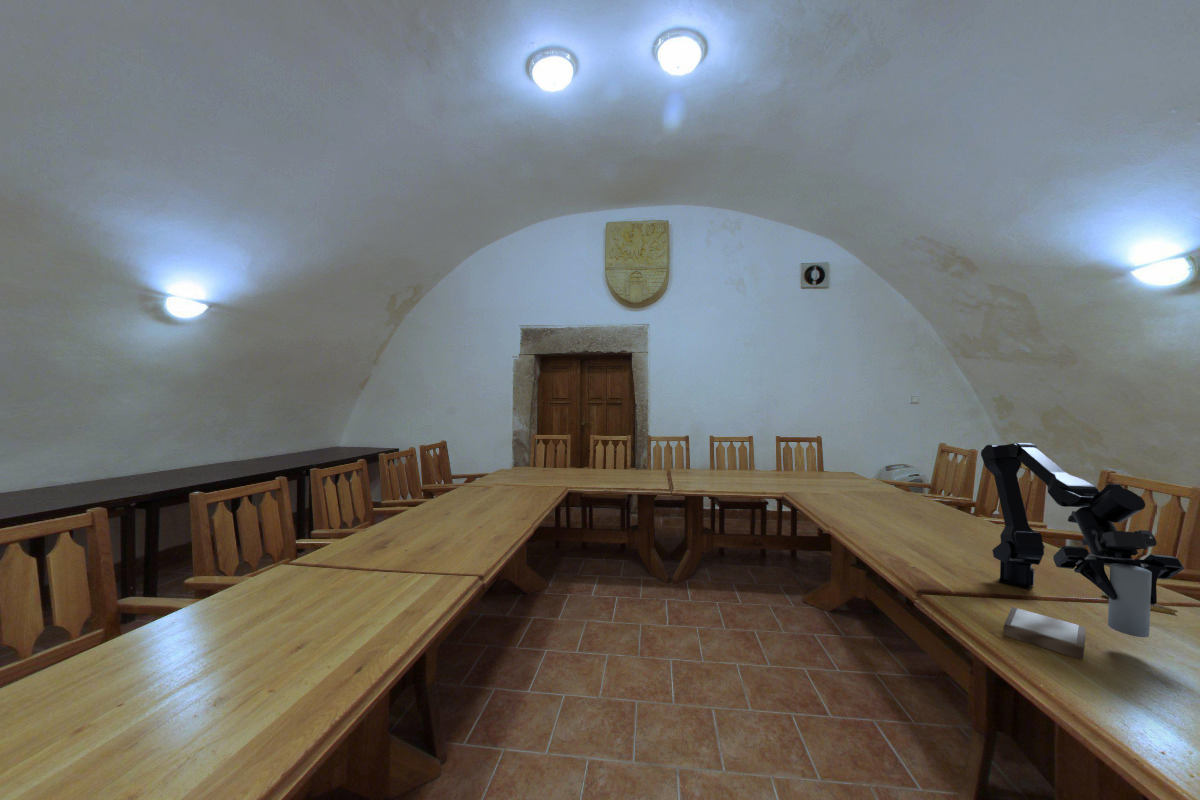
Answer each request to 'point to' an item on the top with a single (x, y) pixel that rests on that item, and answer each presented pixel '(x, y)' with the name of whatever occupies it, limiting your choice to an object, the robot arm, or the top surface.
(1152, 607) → the shard
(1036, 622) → the plate
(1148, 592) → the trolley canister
